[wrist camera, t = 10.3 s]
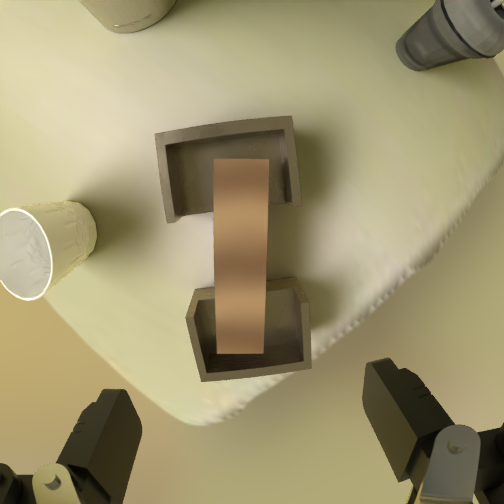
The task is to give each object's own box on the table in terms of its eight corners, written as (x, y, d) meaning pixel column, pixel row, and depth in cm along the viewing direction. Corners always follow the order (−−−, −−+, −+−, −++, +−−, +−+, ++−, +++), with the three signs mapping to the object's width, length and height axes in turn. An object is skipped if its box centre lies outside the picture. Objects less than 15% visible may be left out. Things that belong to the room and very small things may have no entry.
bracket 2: (299, 334, 33) (311, 368, 27) (206, 346, 33) (201, 381, 27) (295, 276, 31) (309, 302, 25) (194, 289, 31) (185, 317, 25)
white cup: (54, 185, 28) (-4, 194, 18) (111, 210, 29) (61, 229, 19) (39, 249, 29) (-14, 276, 20) (92, 277, 30) (46, 316, 21)
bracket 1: (172, 141, 27) (154, 134, 21) (279, 127, 28) (291, 115, 21) (181, 212, 29) (166, 223, 23) (288, 198, 29) (302, 205, 23)
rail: (217, 160, 25) (213, 158, 21) (264, 161, 25) (269, 159, 22) (219, 331, 29) (217, 353, 25) (260, 331, 29) (263, 353, 26)
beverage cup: (387, 74, 26) (520, 9, 7) (381, 20, 24) (485, -64, 5) (439, 88, 27) (571, 55, 7) (432, 37, 25) (544, -18, 5)
